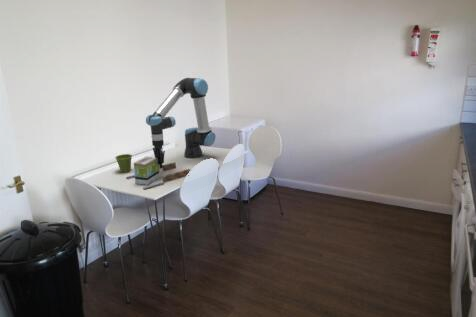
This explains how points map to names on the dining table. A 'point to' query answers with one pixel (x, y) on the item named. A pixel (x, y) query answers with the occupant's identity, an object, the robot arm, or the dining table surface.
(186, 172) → the walnut chute
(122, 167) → the plant pot
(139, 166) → the tea box
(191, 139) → the robot arm
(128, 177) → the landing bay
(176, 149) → the dining table surface
